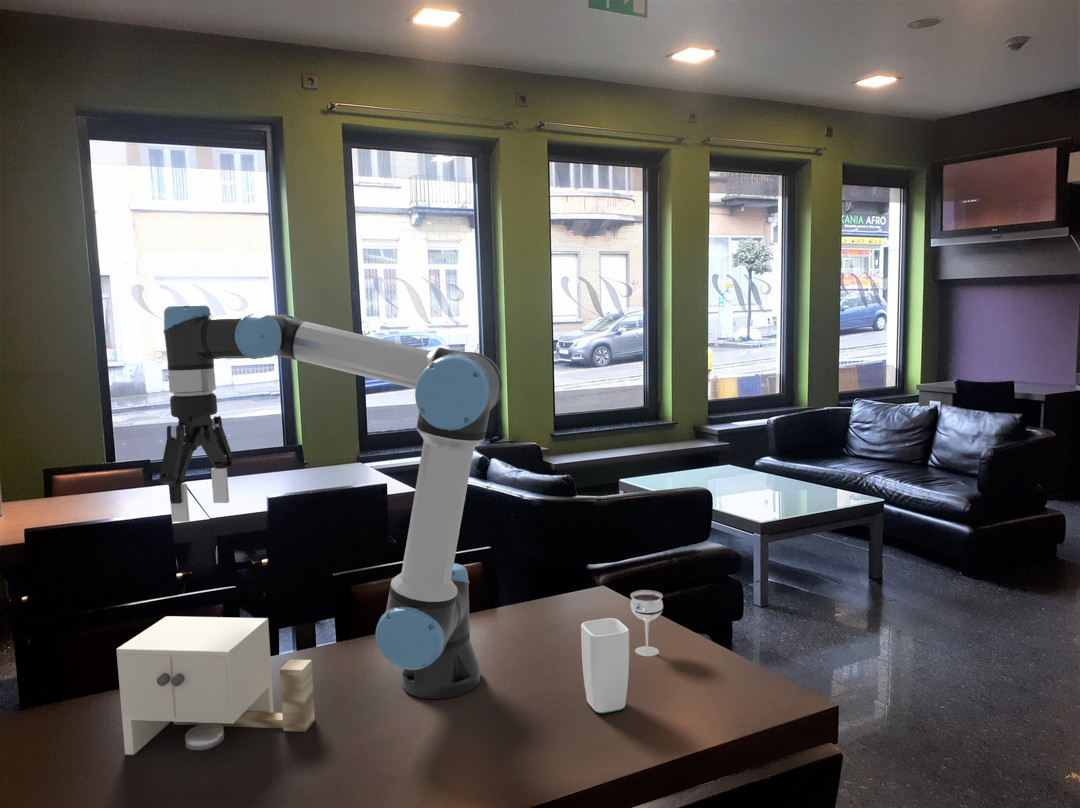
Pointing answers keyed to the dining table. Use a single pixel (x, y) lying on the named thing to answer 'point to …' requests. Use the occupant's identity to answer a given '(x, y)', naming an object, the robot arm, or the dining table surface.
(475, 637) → the dining table surface
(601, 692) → the cup
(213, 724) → the disc
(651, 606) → the wineglass
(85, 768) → the dining table surface
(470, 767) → the dining table surface
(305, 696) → the l-shaped wooden piece
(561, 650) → the dining table surface
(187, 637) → the cabinet
